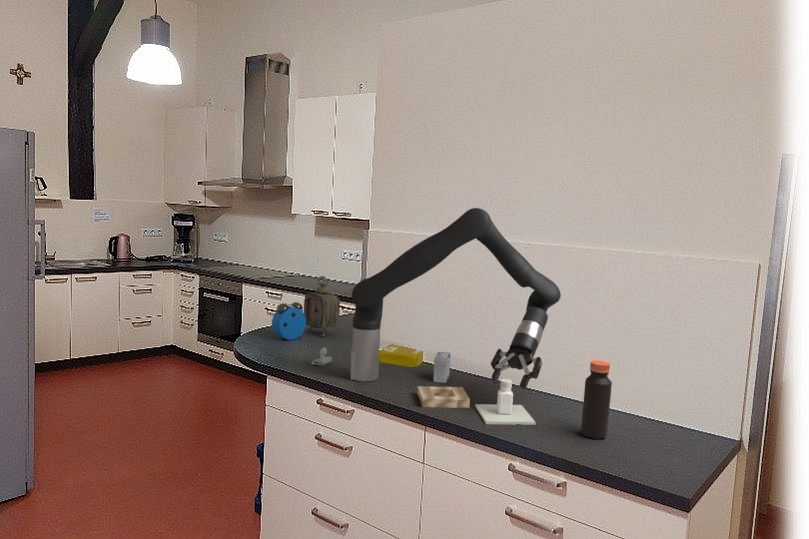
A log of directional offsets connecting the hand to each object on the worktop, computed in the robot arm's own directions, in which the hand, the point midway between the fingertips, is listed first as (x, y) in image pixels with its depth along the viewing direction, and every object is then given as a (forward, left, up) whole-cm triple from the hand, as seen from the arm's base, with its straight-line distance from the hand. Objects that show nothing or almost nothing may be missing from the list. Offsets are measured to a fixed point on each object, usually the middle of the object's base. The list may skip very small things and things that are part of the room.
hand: (507, 384), depth 183 cm
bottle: (+21, -14, -9) cm, 27 cm away
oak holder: (-16, +12, -9) cm, 22 cm away
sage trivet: (0, 0, -9) cm, 9 cm away
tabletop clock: (-55, +96, -9) cm, 111 cm away
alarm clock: (-68, +86, -9) cm, 110 cm away
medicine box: (-13, +34, -9) cm, 37 cm away
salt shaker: (-1, 0, -8) cm, 8 cm away
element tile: (-24, +57, -10) cm, 63 cm away
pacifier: (-54, +50, -9) cm, 74 cm away
